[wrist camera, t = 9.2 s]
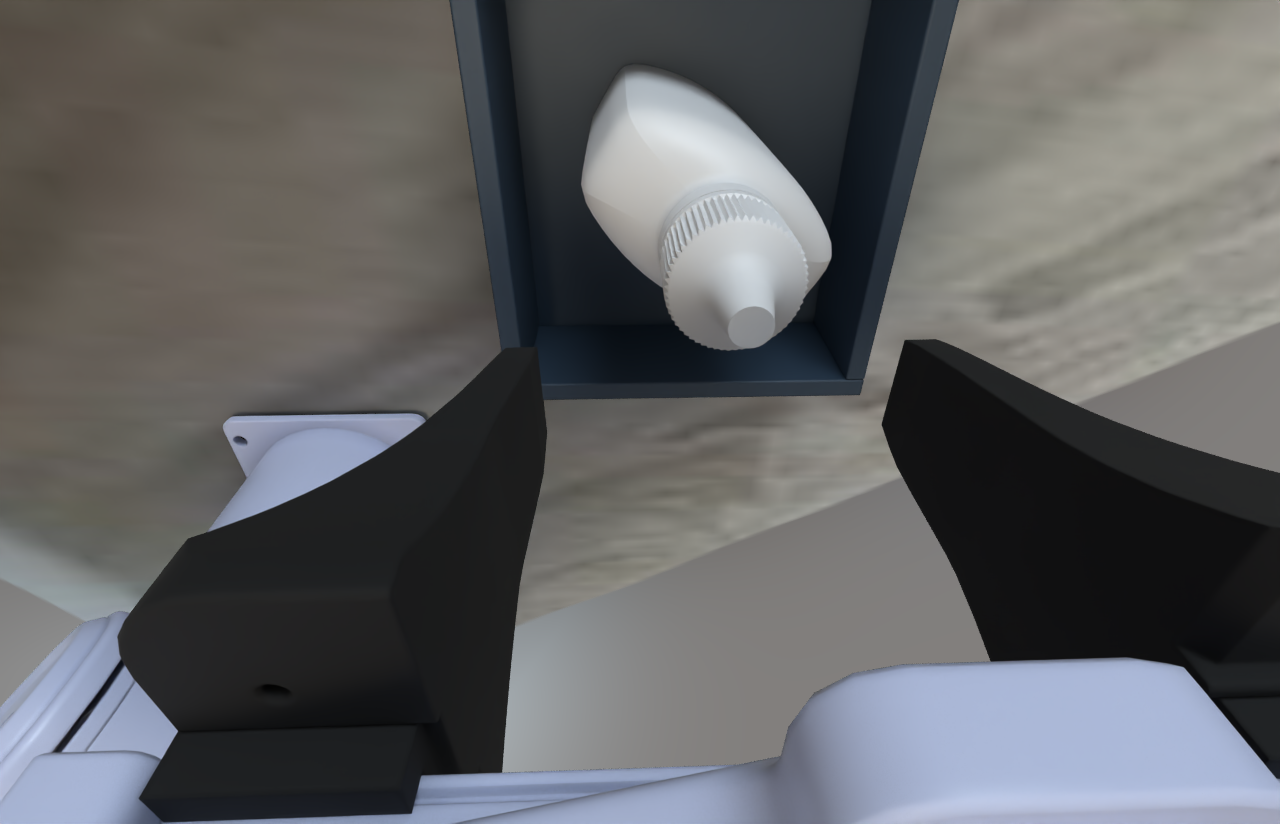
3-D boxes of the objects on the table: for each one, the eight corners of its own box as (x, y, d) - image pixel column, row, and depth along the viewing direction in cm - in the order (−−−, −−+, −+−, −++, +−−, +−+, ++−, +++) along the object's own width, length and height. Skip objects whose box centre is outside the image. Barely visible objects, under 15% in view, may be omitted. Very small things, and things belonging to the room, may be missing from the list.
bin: (822, 330, 23) (861, 396, 20) (526, 333, 23) (508, 401, 19) (912, -133, 16) (1002, -168, 12) (470, -135, 15) (423, -172, 12)
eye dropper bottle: (660, 257, 21) (697, 502, 11) (574, 94, 18) (519, 232, 8) (780, 194, 20) (940, 405, 10) (710, 11, 17) (838, 52, 7)
